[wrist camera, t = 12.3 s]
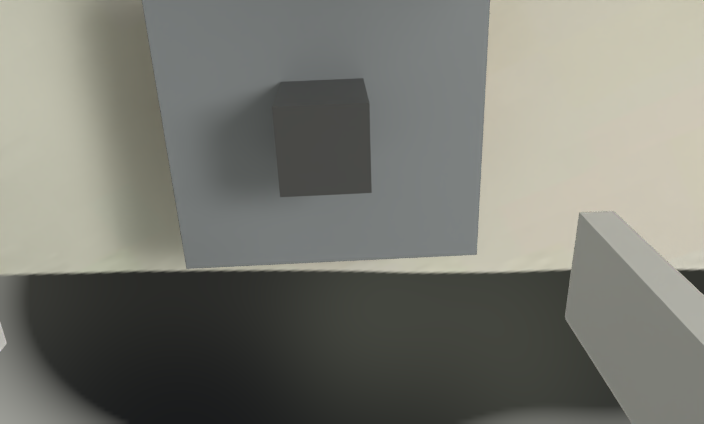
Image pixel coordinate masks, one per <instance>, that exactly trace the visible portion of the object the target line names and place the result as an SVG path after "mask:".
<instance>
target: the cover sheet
mask: <svg viewBox="0 0 704 424" xmlns="http://www.w3.org/2000/svg"><path fill="white" fill-rule="evenodd" d="M142 4H143V10H144V16H145V22H146V28H147V34H148V40H149V46H150V52H151V58H152V64H153V70H154V76H155V82H156V88H157V94H158V100H159V106H160V112H161V118H162V124H163V130H164V136H165V142H166V148H167V154H168V160H169V166H170V172H171V178H172V184H173V190H174V196H175V202H176V208H177V214H178V220H179V226H180V232H181V238H182V244H183V250H184V256H185V262H186V268H187V269H190V268H211V267H232V266H252V265H273V264H294V263H314V262H335V261H355V260H376V259H397V258H417V257H438V256H458V255H477V237H478V218H479V199H480V180H481V161H482V142H483V123H484V104H485V85H486V66H487V47H488V27H489V8H490V0H142Z"/></svg>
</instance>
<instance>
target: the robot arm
mask: <svg viewBox="0 0 704 424" xmlns="http://www.w3.org/2000/svg"><path fill="white" fill-rule="evenodd" d="M565 319H566V321H567V322H568V324H569V325H570V327H571V328H572V330H573V331H574V333H575V335H576V336H577V338H578V340H579V341H580V343H581V344H582V346H583V347H584V349H585V351H586V352H587V354H588V355H589V357H590V358H591V360H592V361H593V363H594V365H595V366H596V368H597V369H598V371H599V372H600V374H601V376H602V377H603V379H604V380H605V382H606V384H607V385H608V387H609V388H610V390H611V391H612V393H613V395H614V396H615V398H616V399H617V401H618V403H619V404H620V405H621V407H622V409H623V410H624V412H625V414H626V415H627V417H628V418H629V420H630V421H631V423H632V424H704V295H703V294H702V293H701V292H700V291H699V290H698V289H697V288H695V287H694V286H693V285H692V284H691V283H690V282H689V281H688V280H687V279H686V278H685V277H684V276H683V275H681V274H680V273H679V272H678V271H677V270H676V269H675V268H674V267H673V266H672V265H671V264H670V263H669V262H668V261H667V260H666V259H664V258H663V257H662V256H661V255H660V254H659V253H658V252H657V251H656V250H655V249H654V248H653V247H652V246H651V245H650V244H648V243H647V242H646V241H645V240H644V239H643V238H642V237H641V236H640V235H639V234H638V233H637V232H636V231H635V230H634V229H632V228H631V227H630V226H629V225H628V224H627V223H626V222H625V221H624V220H623V219H622V218H621V217H620V216H619V215H618V214H616V213H615V212H614V211H601V212H579V219H578V226H577V233H576V240H575V247H574V255H573V262H572V269H571V276H570V284H569V291H568V299H567V306H566V313H565ZM5 345H6V339H5V336H4V332H3V330H2V326H1V323H0V351H1V350H2V349H3V347H4V346H5Z"/></svg>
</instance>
